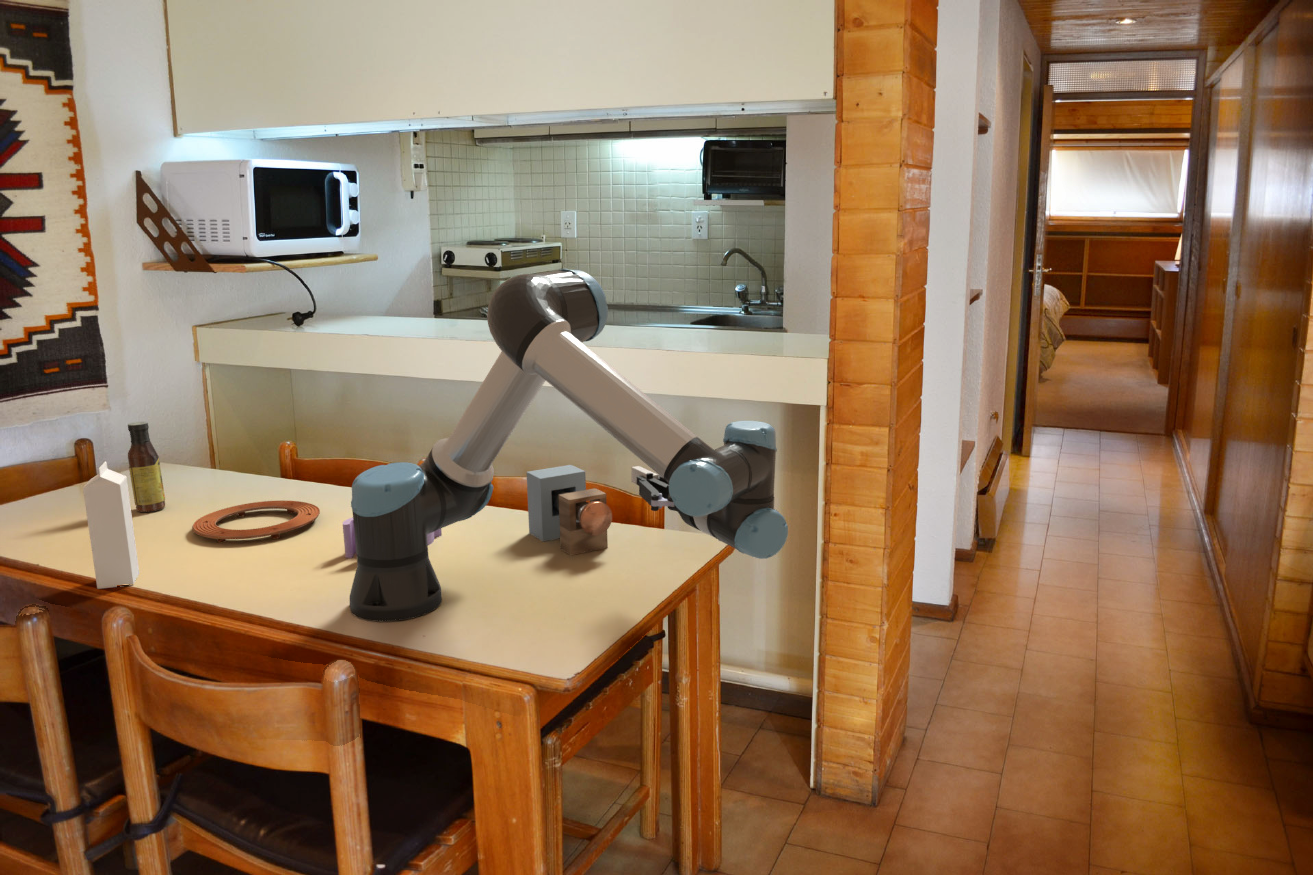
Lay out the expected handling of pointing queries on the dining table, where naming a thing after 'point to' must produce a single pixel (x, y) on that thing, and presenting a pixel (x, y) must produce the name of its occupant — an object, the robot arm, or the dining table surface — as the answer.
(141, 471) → the sauce bottle
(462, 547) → the dining table surface
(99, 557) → the milk
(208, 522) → the ring
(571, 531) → the sleeve
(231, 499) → the dining table surface
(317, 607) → the dining table surface
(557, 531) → the socket block
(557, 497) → the pin
